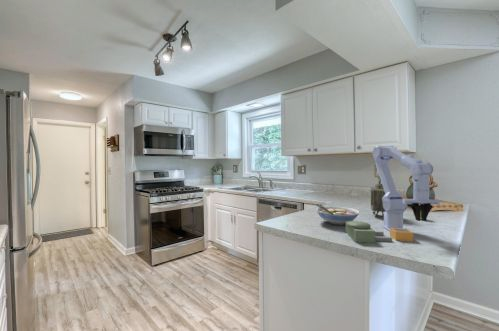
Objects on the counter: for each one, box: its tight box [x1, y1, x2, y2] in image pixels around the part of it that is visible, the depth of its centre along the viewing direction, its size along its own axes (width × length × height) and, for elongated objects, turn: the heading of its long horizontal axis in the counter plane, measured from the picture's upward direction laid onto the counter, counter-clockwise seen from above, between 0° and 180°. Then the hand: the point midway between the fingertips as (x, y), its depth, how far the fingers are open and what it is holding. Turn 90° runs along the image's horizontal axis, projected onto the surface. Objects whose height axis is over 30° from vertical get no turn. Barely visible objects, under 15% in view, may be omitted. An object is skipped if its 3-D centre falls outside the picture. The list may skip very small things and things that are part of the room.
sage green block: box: [345, 220, 393, 244], centre depth 110 cm, size 15×18×6 cm
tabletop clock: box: [370, 176, 386, 218], centre depth 151 cm, size 14×9×25 cm, turn 159°
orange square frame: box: [389, 228, 414, 242], centre depth 108 cm, size 6×7×4 cm
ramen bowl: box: [315, 204, 360, 226], centre depth 134 cm, size 25×23×8 cm
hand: (420, 220), depth 107 cm, fingers closed
